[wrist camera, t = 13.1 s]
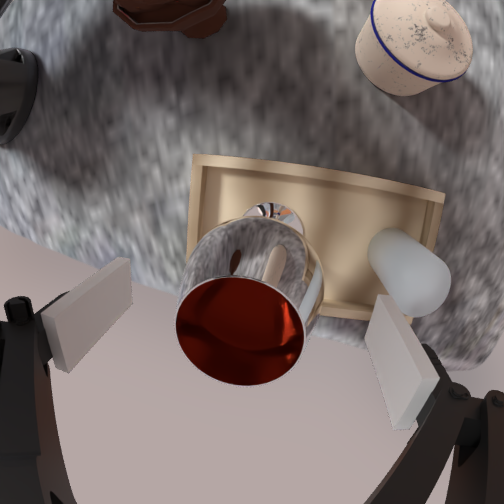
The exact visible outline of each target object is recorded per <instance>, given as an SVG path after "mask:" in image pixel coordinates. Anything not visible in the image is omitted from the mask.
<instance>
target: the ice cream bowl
mask: <svg viewBox="0 0 504 504" xmlns="http://www.w3.org/2000/svg"><path fill="white" fill-rule="evenodd" d="M225 1H226V0H114V1H113V12H114V13H115V14H116V15H117V16H119V17H120V18H121V19H122V20H123V21H125V22H126V23H127V24H128V25H129V26H130V27H131V28H133V29H135V30H139V31H142V32H146V31H181V32H182V33H183V34H185V35H186V36H187V37H188V38H205V37H208V36H210V35H212V34H214V33H216V32H218V31H219V30H220V28H221V27H222V26H223V24H224V23H225V21H226V20H227V14H226V7H225V6H224V5H223V4H224V2H225Z"/></svg>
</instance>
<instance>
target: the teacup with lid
mask: <svg viewBox="0 0 504 504" xmlns="http://www.w3.org/2000/svg"><path fill="white" fill-rule="evenodd" d="M355 54H356V58H357V62H358V64H359V66H360V68H361V70H362V72H363V73H364V74H365V76H366V77H367V78H368V79H369V80H370V81H371V82H372V83H373V84H374V85H375V86H377V87H378V88H380V89H381V90H383V91H385V92H388V93H390V94H393V95H398V96H411V95H415V94H418V93H420V92H422V91H424V90H426V89H428V88H431V87H433V86H435V85H437V84H439V83H442V82H450V81H453V80H456V79H458V78H459V77H461V76H462V75H463V74H464V73H465V72H466V71H467V69H468V67H469V65H470V63H471V60H472V54H473V46H472V40H471V36H470V33H469V30H468V28H467V26H466V24H465V23H464V21H463V19H462V18H461V16H460V15H459V14H458V13H457V11H456V10H455V9H454V8H453V7H452V6H451V5H450V4H449V3H448V2H446V1H445V0H374V1H373V4H372V7H371V13H370V15H369V17H368V19H367V21H366V23H365V25H364V26H363V28H362V30H361V32H360V34H359V36H358V38H357V40H356V45H355Z"/></svg>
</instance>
